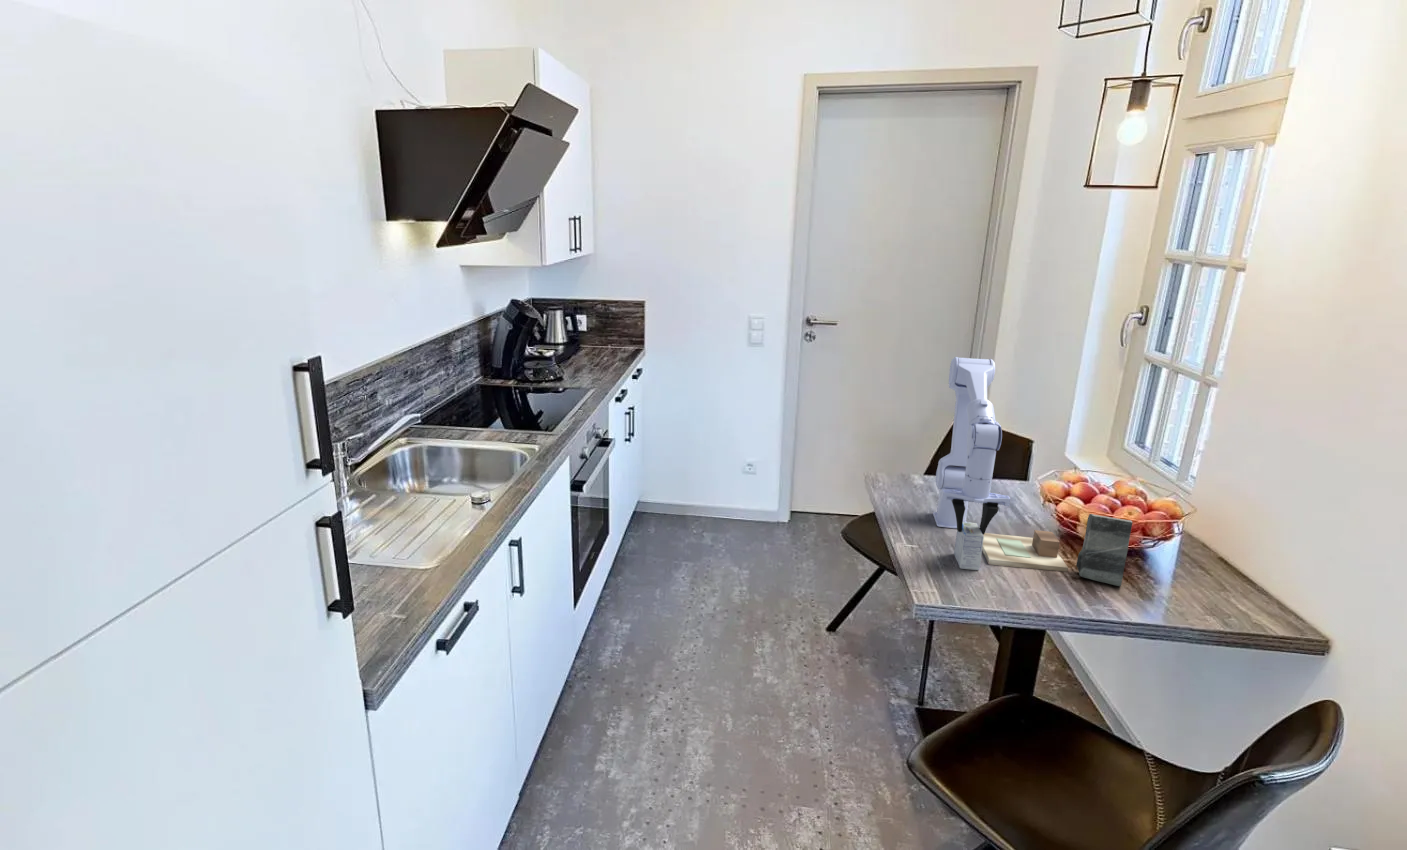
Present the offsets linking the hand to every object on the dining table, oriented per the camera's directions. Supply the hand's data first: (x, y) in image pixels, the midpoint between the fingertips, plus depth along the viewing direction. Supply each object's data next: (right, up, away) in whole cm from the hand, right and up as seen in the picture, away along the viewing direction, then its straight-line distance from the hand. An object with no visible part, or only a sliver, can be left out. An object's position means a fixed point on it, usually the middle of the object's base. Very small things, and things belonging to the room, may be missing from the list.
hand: (970, 531), depth 159 cm
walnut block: (+20, -6, +6) cm, 22 cm away
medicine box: (0, -8, +2) cm, 8 cm away
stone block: (+27, -10, -4) cm, 29 cm away
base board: (+14, -7, +7) cm, 18 cm away
